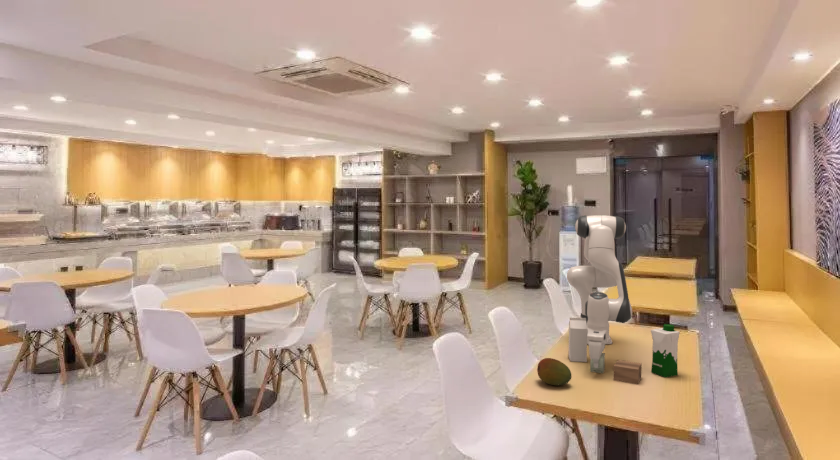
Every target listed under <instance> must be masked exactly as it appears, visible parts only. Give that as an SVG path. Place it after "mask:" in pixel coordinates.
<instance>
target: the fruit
mask: <svg viewBox="0 0 840 460" xmlns="http://www.w3.org/2000/svg"><path fill="white" fill-rule="evenodd" d="M536 371H537V372H536V373H537V375H538V378H539V379H540V380H541V381H542V382H543V383H546V384H547V385H552V386H563V385H566V384H568V383H569V382H570V381H571V380H572V372H571V370H570V367H568V365H566V364H565V363H564V362H562V361H560V360H558V359H556V358H551V357H544V358H542V359H541V360H540V361H539V362H538V364H537V369H536Z"/></svg>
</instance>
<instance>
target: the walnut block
mask: <svg viewBox="0 0 840 460" xmlns="http://www.w3.org/2000/svg"><path fill="white" fill-rule="evenodd" d="M642 367H643V366H642V362H635V361H630V360H629V361H628V360H622V359H617V361H615V363H614V365H613V379H612V380H613V381H616V382H621V383H629V384H633V385H639V383H640V381H641V380H642V371H643V370H642V369H643V368H642Z"/></svg>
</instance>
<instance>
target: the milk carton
mask: <svg viewBox="0 0 840 460" xmlns="http://www.w3.org/2000/svg"><path fill="white" fill-rule="evenodd" d="M568 358H569V361H570V362H579V363H581V362H582V363H587V362H588V344H587V323H586V318H580V317H569V322H568Z"/></svg>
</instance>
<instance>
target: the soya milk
mask: <svg viewBox="0 0 840 460" xmlns="http://www.w3.org/2000/svg"><path fill="white" fill-rule="evenodd" d="M650 334H651V336H652V337H651V338H652V357H651V358H652V361H651V368H650V369H651V371H650V372H651V373H652V374H654V375H657V376H659V377H663V378H669V377H676V376H678V375H679V374H678V373H679V372H678V350H679V349H678V347H679V346H678V343H679V338H680V334H681V333H680V331H677V330H675V325H674V324H671V323H670V324H669V323H664V324H663V327H659V328H654V329H650Z"/></svg>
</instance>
